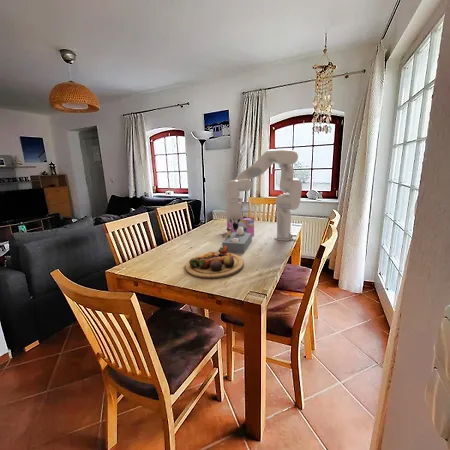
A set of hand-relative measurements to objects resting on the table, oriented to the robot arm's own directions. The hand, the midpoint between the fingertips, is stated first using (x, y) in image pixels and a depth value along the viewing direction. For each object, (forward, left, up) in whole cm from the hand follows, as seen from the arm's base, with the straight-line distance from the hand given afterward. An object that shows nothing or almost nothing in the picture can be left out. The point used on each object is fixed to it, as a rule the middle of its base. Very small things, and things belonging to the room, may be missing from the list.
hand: (235, 229), depth 156 cm
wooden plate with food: (+5, +28, -14) cm, 31 cm away
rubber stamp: (+7, -6, -7) cm, 12 cm away
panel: (+1, -6, -13) cm, 15 cm away
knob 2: (+1, -13, -9) cm, 16 cm away
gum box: (+6, -36, -14) cm, 39 cm away
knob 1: (+1, +1, -13) cm, 13 cm away
